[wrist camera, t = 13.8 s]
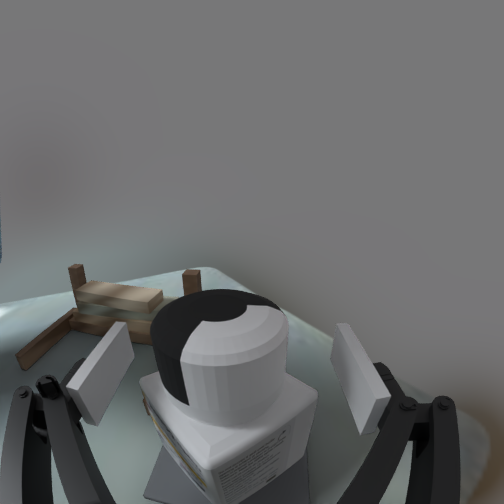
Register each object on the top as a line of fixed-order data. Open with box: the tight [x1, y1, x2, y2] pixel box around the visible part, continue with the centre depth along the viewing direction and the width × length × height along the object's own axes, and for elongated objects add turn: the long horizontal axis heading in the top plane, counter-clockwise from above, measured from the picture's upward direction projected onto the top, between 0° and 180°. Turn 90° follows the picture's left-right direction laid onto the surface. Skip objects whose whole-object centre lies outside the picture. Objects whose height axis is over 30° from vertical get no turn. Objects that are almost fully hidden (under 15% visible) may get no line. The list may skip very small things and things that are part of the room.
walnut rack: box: [15, 264, 202, 416], centre depth 27 cm, size 21×17×8 cm
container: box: [139, 289, 319, 504], centre depth 14 cm, size 8×8×13 cm
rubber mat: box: [143, 445, 310, 504], centre depth 16 cm, size 11×11×1 cm
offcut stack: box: [72, 281, 179, 334], centre depth 32 cm, size 16×5×4 cm, turn 85°
